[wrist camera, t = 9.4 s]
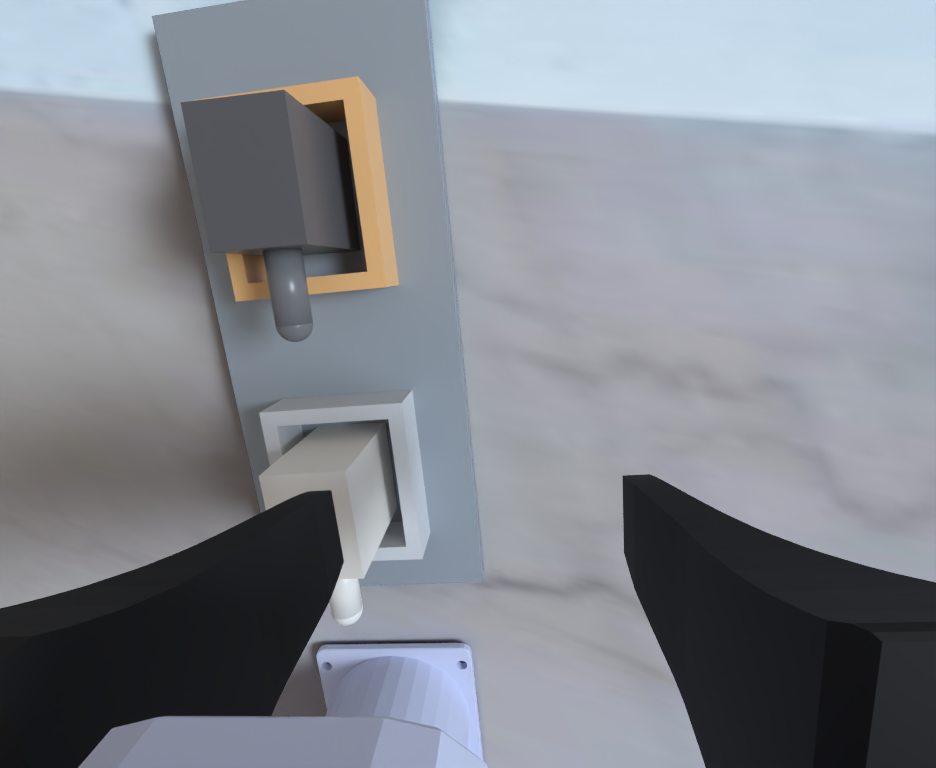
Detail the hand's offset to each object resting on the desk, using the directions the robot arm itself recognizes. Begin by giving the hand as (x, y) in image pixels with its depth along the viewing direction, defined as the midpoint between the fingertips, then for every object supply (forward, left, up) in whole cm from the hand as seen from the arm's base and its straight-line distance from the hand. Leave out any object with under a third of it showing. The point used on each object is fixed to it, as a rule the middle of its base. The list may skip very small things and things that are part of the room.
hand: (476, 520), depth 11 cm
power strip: (+4, +6, -9) cm, 12 cm away
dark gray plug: (+8, +6, -8) cm, 13 cm away
